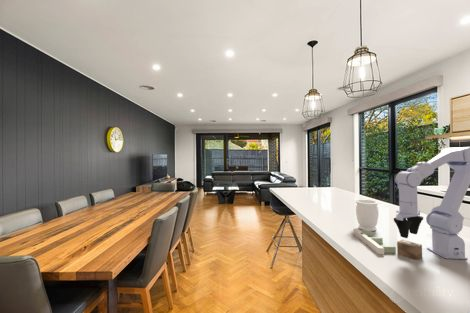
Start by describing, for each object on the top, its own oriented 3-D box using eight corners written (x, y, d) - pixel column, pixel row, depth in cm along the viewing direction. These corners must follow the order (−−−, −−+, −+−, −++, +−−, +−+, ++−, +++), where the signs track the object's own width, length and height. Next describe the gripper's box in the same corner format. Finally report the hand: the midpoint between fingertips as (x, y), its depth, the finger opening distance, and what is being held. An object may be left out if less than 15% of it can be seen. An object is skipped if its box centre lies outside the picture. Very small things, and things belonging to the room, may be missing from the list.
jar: (367, 233, 112) (366, 204, 112) (352, 227, 122) (351, 200, 122) (383, 230, 115) (382, 202, 115) (367, 225, 125) (366, 199, 125)
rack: (398, 255, 87) (398, 247, 87) (379, 254, 88) (378, 247, 88) (368, 233, 111) (368, 228, 111) (353, 233, 112) (353, 227, 112)
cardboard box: (422, 257, 85) (421, 244, 85) (416, 260, 83) (416, 246, 83) (403, 251, 91) (402, 238, 91) (397, 253, 89) (397, 241, 89)
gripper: (405, 198, 94) (406, 229, 94) (387, 201, 87) (388, 235, 87) (425, 200, 88) (426, 234, 88) (408, 205, 81) (409, 241, 81)
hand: (408, 235), depth 87 cm, fingers open, 7 cm apart
